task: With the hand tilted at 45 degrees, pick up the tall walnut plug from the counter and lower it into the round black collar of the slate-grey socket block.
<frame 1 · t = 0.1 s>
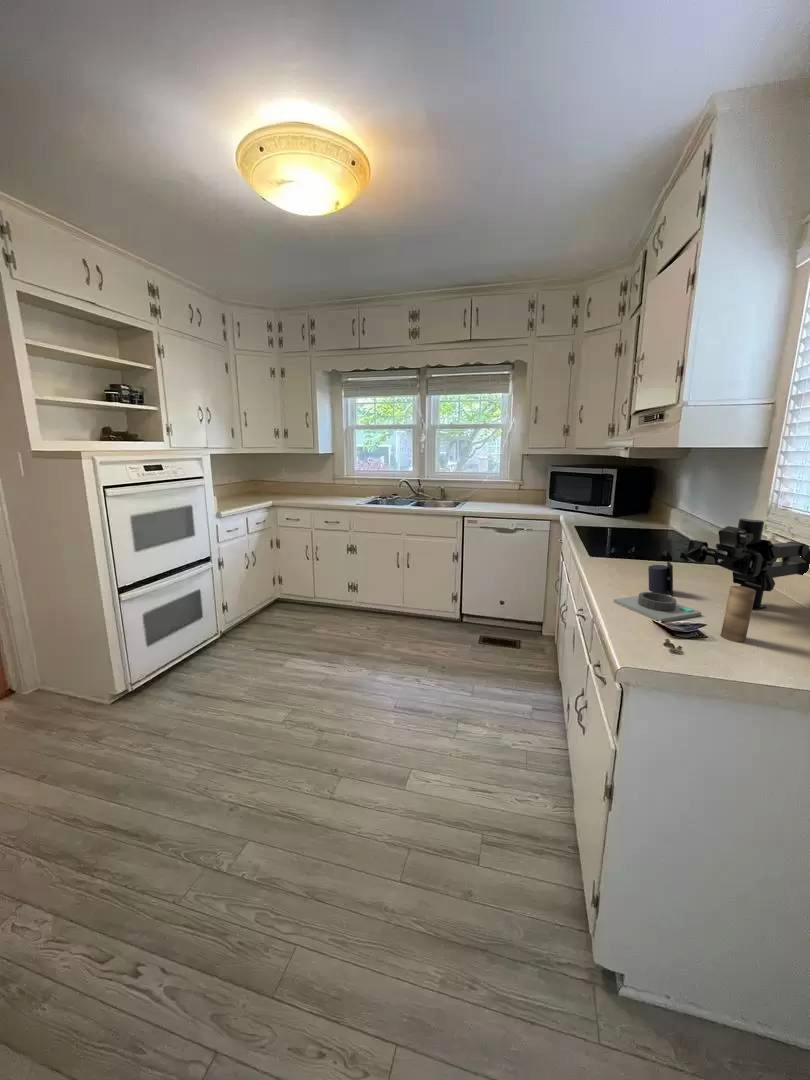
hand: (702, 559, 119), 17 cm above the table, tool horizontal, fingers open, 9 cm apart
plug: (732, 637, 108), on the table
speaker: (658, 592, 142), on the table
socket: (655, 608, 127), on the table
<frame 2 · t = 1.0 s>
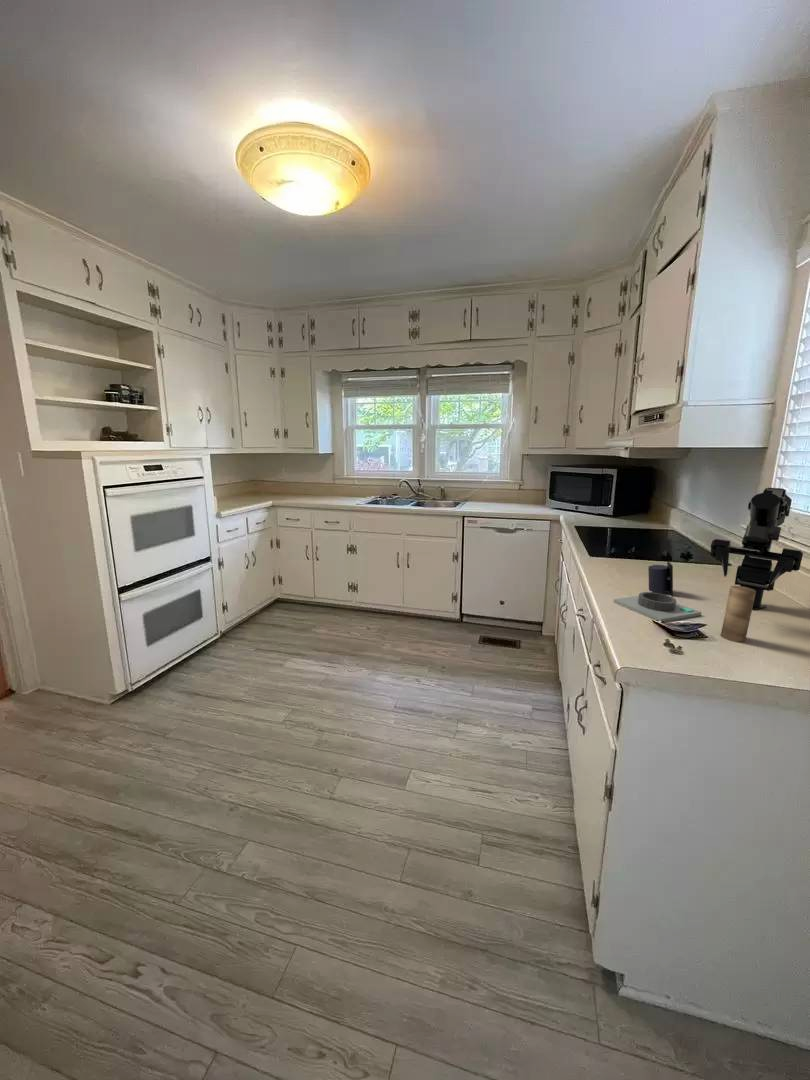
hand: (746, 579, 111), 14 cm above the table, tool tilted 45°, fingers open, 9 cm apart
nothing on the table moved.
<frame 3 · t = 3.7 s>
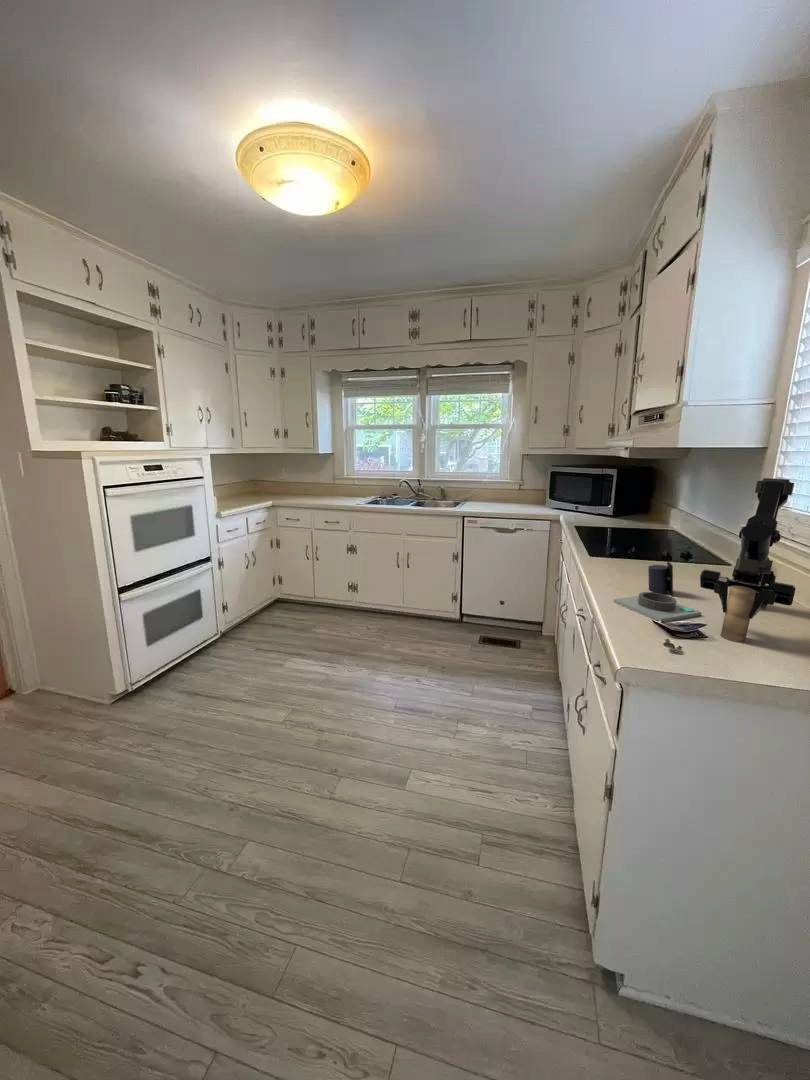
hand: (737, 614, 106), 7 cm above the table, tool tilted 45°, fingers closed on plug, 5 cm apart
plug: (732, 637, 108), on the table, touching gripper
everything else where it was.
when the fingers open (8 cm above the table, at t = 9.5 s): plug stays where it is, resting on socket.
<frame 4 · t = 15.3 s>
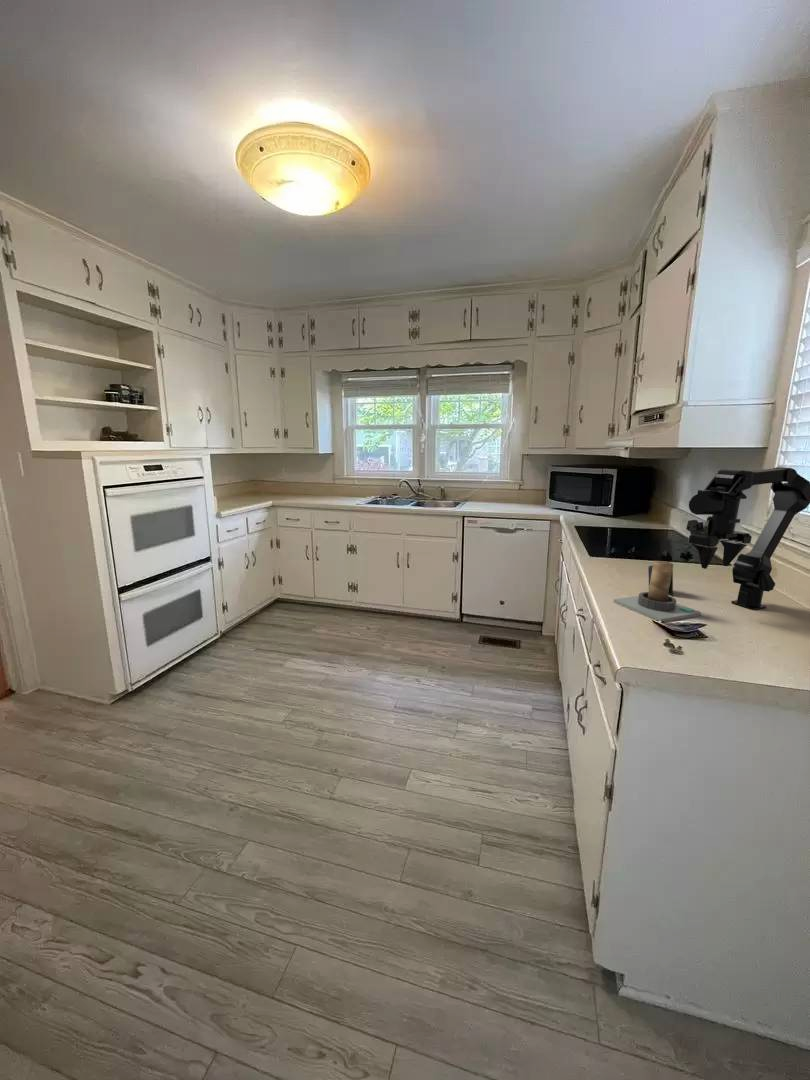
hand: (714, 567, 125), 13 cm above the table, tool pointing down, fingers open, 9 cm apart
plug: (656, 605, 127), point 1 cm above the table, touching socket
everything else where it was.
at the end: plug 0.0 cm off-centre on the socket, point 1.0 cm above the socket's base; plug tilted 0°; the gripper is holding nothing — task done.
